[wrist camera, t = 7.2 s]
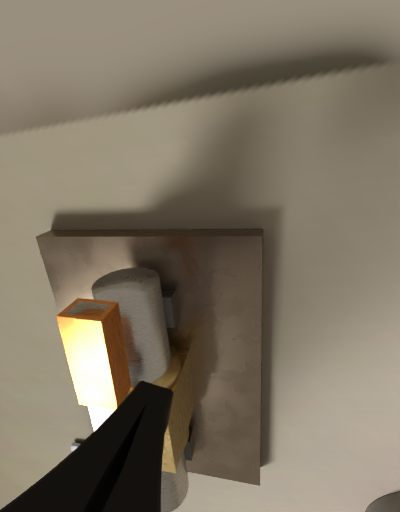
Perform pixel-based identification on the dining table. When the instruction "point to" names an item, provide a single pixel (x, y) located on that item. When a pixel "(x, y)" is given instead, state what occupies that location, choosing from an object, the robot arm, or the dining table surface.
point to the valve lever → (96, 355)
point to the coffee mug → (386, 504)
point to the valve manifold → (181, 334)
